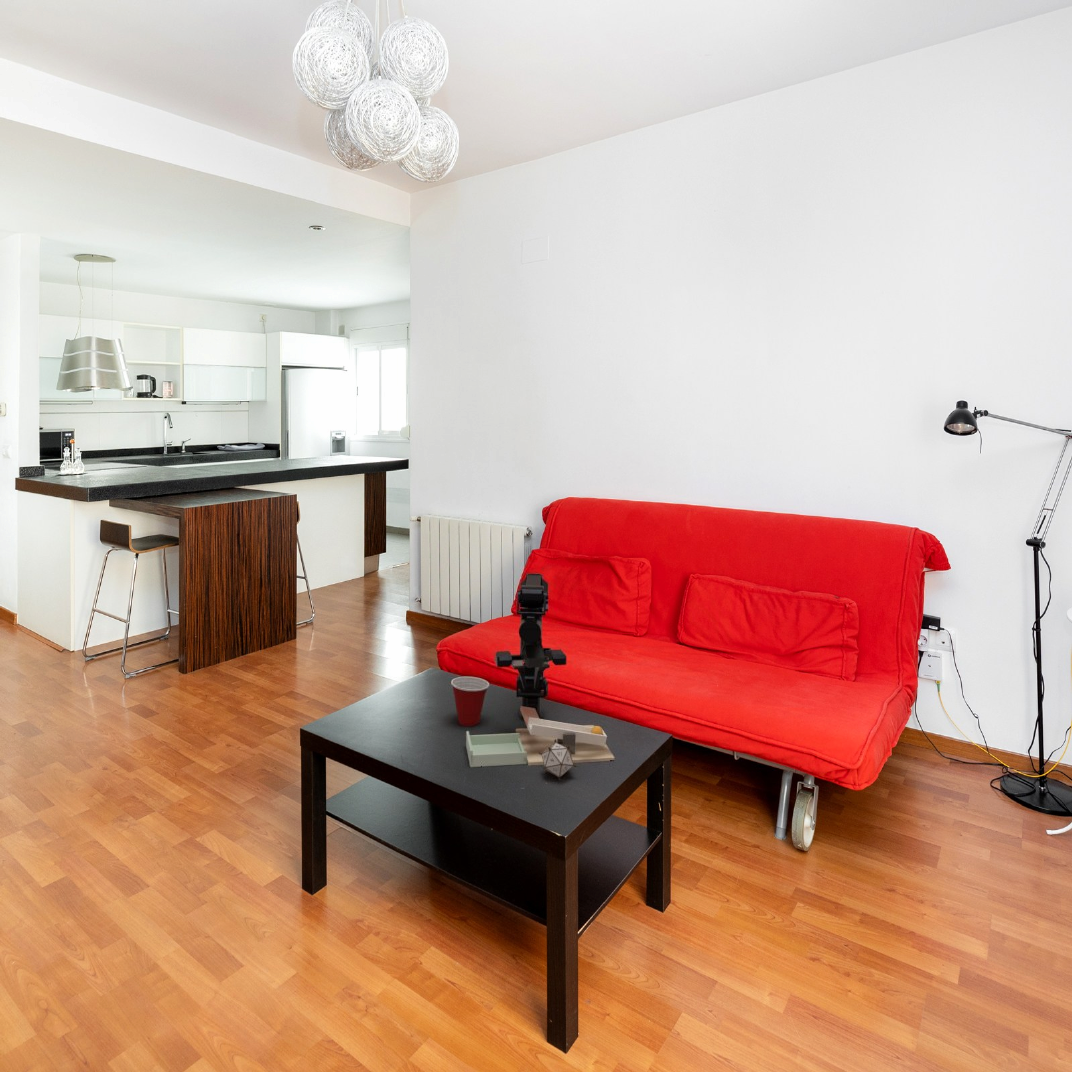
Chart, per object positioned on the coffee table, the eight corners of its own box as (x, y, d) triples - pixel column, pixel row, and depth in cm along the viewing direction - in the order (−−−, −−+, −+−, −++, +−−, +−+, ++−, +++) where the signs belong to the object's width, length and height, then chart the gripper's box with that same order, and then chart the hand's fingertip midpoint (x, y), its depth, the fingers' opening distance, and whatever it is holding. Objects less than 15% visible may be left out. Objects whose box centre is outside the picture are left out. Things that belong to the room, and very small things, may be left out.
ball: (588, 733, 190) (591, 723, 190) (599, 735, 191) (602, 725, 190) (591, 738, 187) (594, 727, 187) (602, 740, 188) (605, 729, 188)
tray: (466, 746, 189) (466, 731, 189) (519, 743, 192) (519, 728, 191) (470, 767, 178) (470, 750, 177) (526, 763, 180) (526, 747, 180)
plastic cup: (487, 730, 200) (487, 688, 198) (448, 729, 200) (448, 687, 199) (490, 715, 211) (491, 675, 209) (453, 714, 211) (453, 674, 209)
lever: (520, 709, 200) (522, 700, 199) (588, 720, 204) (590, 711, 203) (530, 734, 183) (532, 724, 183) (604, 746, 187) (607, 736, 187)
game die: (553, 793, 173) (534, 769, 168) (546, 766, 181) (528, 742, 175) (586, 777, 172) (569, 752, 167) (578, 750, 180) (561, 726, 175)
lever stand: (515, 731, 200) (516, 710, 199) (593, 727, 204) (594, 707, 203) (528, 765, 179) (528, 742, 178) (614, 760, 183) (615, 737, 182)
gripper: (500, 642, 185) (499, 701, 187) (571, 640, 188) (570, 698, 190) (495, 630, 195) (494, 686, 198) (562, 628, 199) (561, 683, 201)
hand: (529, 688), depth 196 cm, fingers open, 3 cm apart
